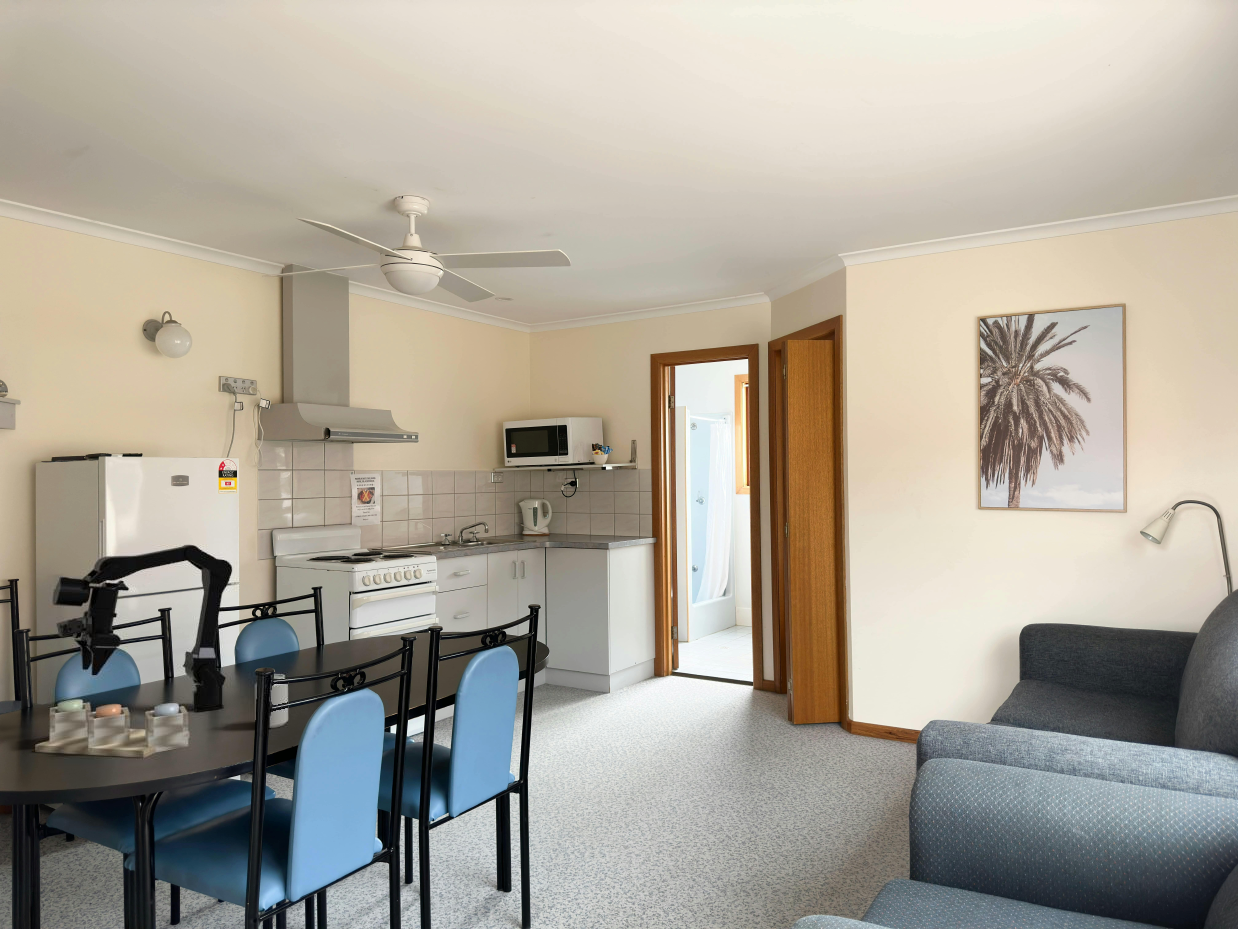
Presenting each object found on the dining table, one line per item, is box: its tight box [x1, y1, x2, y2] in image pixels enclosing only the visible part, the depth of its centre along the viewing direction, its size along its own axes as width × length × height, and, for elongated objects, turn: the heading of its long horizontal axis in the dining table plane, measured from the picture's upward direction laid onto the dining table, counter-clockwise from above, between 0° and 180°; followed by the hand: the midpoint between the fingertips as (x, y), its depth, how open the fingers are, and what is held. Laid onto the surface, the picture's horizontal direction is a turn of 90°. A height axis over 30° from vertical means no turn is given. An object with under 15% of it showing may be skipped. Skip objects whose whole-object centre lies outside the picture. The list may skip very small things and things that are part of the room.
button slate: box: [153, 702, 180, 717], centre depth 185 cm, size 5×5×3 cm
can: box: [254, 673, 289, 729], centre depth 200 cm, size 8×8×12 cm
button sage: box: [57, 698, 84, 713], centre depth 190 cm, size 5×5×3 cm
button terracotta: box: [95, 703, 122, 718], centre depth 185 cm, size 5×5×3 cm
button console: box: [34, 702, 191, 759], centre depth 187 cm, size 14×37×8 cm, turn 79°
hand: (89, 672), depth 199 cm, fingers open, 9 cm apart
